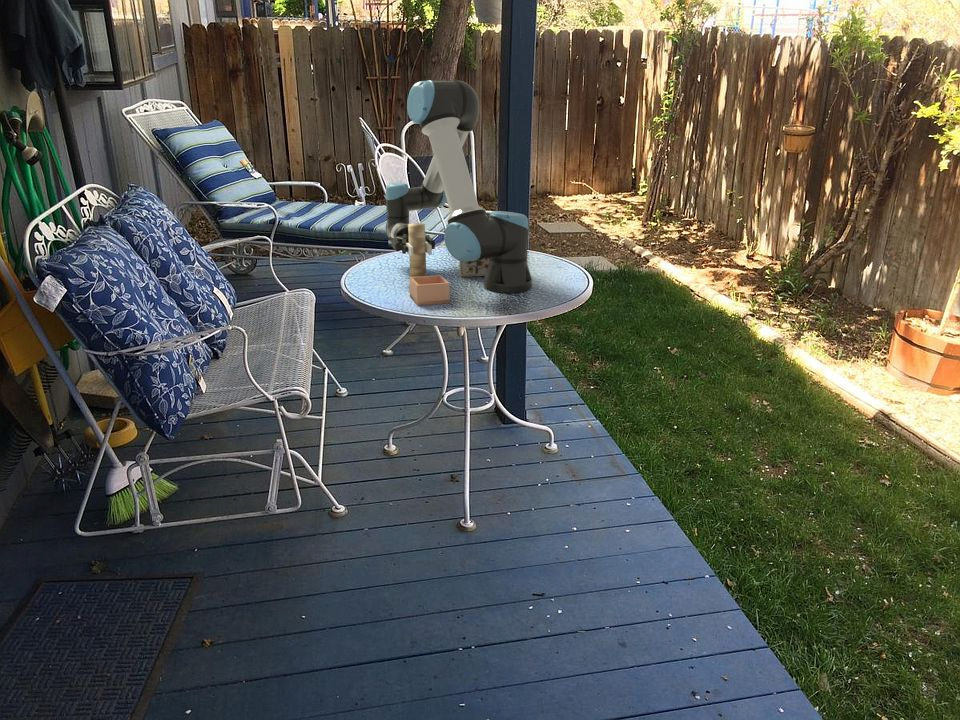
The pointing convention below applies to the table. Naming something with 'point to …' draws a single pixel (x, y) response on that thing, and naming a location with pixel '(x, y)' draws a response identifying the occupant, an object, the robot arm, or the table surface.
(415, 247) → the peg
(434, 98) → the robot arm
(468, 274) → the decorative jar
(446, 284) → the box
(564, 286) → the table surface
